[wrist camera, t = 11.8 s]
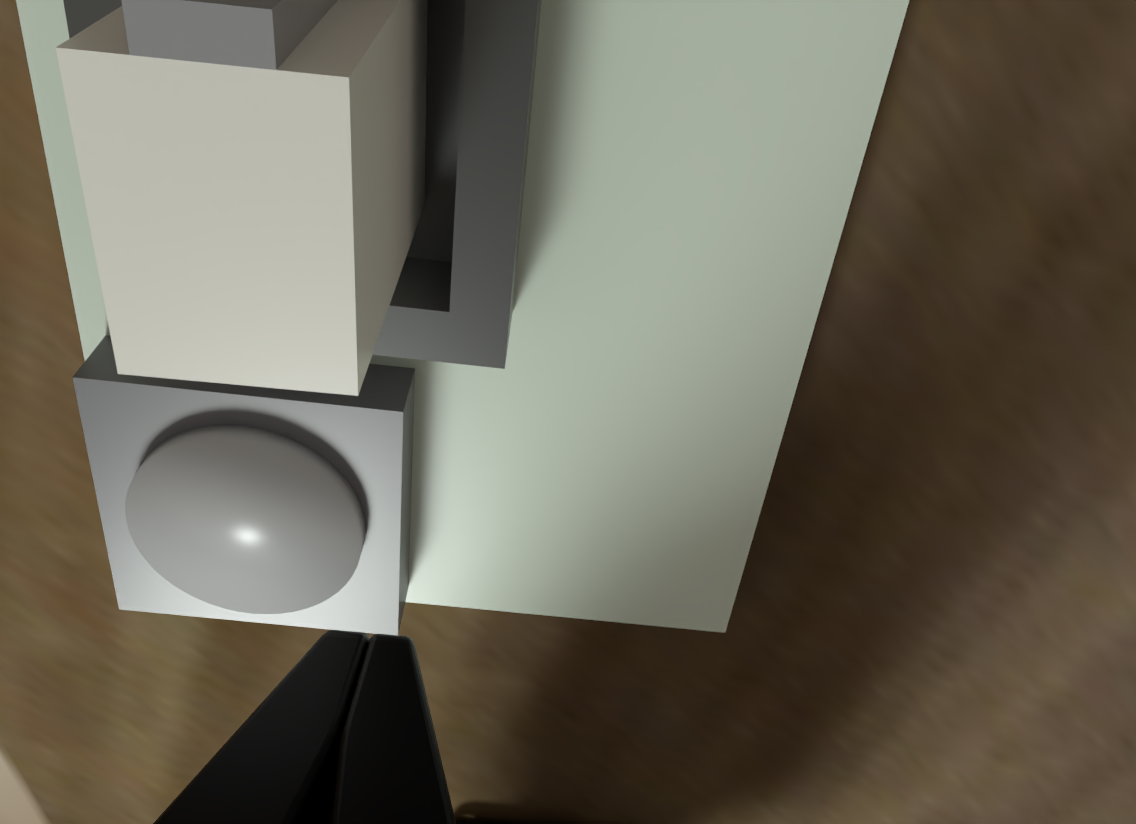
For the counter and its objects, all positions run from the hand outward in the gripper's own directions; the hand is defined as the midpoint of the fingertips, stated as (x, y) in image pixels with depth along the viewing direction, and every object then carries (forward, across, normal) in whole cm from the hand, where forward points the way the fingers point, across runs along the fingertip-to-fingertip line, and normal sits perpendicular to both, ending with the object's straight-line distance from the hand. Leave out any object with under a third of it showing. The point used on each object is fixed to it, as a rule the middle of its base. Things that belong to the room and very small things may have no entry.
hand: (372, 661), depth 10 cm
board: (+11, 0, 0) cm, 11 cm away
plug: (+10, +2, -3) cm, 10 cm away
